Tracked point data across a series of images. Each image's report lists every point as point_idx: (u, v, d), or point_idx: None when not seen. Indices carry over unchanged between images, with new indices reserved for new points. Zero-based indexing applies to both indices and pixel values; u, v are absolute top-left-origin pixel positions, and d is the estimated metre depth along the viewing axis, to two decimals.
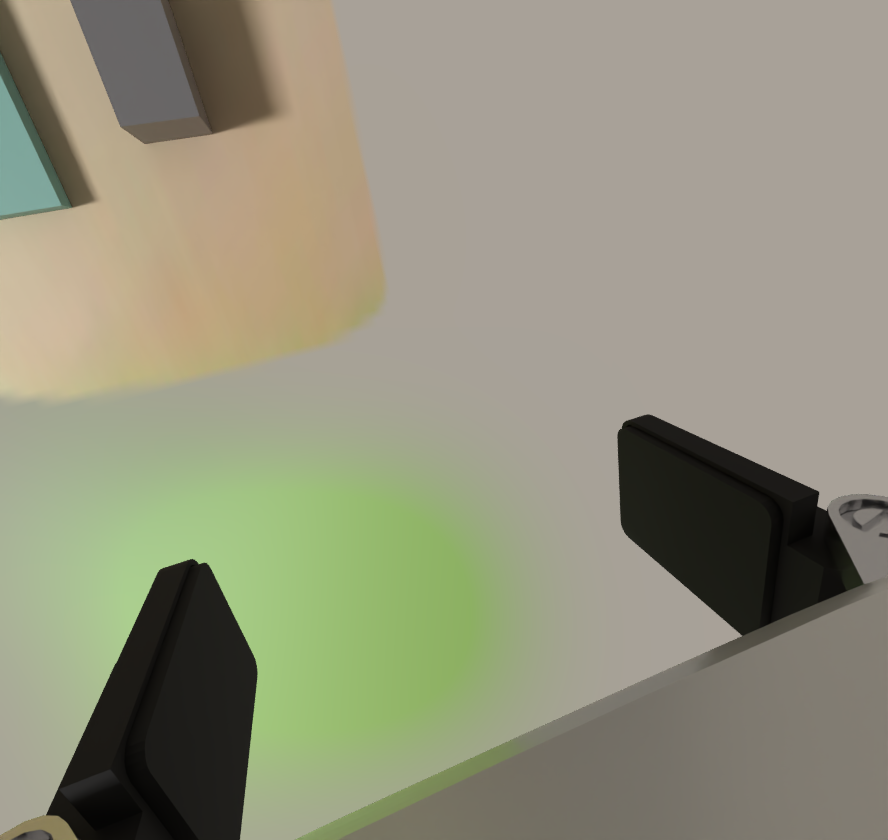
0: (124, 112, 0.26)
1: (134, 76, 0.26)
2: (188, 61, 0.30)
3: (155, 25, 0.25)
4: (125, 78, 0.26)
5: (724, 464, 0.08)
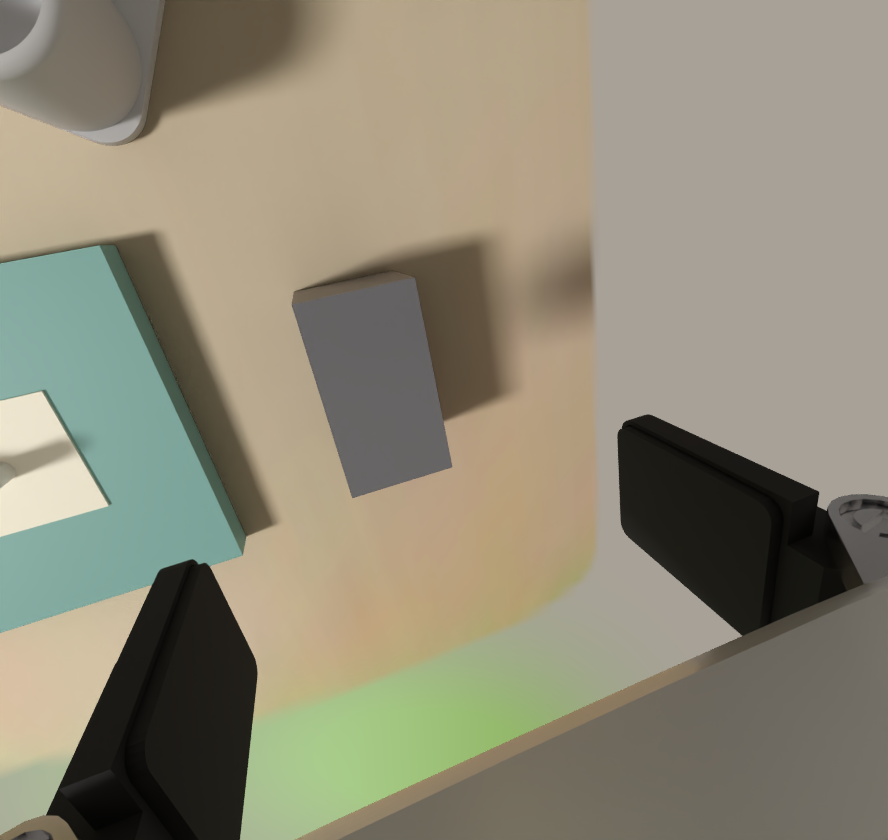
0: (360, 481, 0.19)
1: (379, 438, 0.18)
2: None
3: (416, 374, 0.18)
4: (367, 442, 0.18)
5: (724, 464, 0.08)
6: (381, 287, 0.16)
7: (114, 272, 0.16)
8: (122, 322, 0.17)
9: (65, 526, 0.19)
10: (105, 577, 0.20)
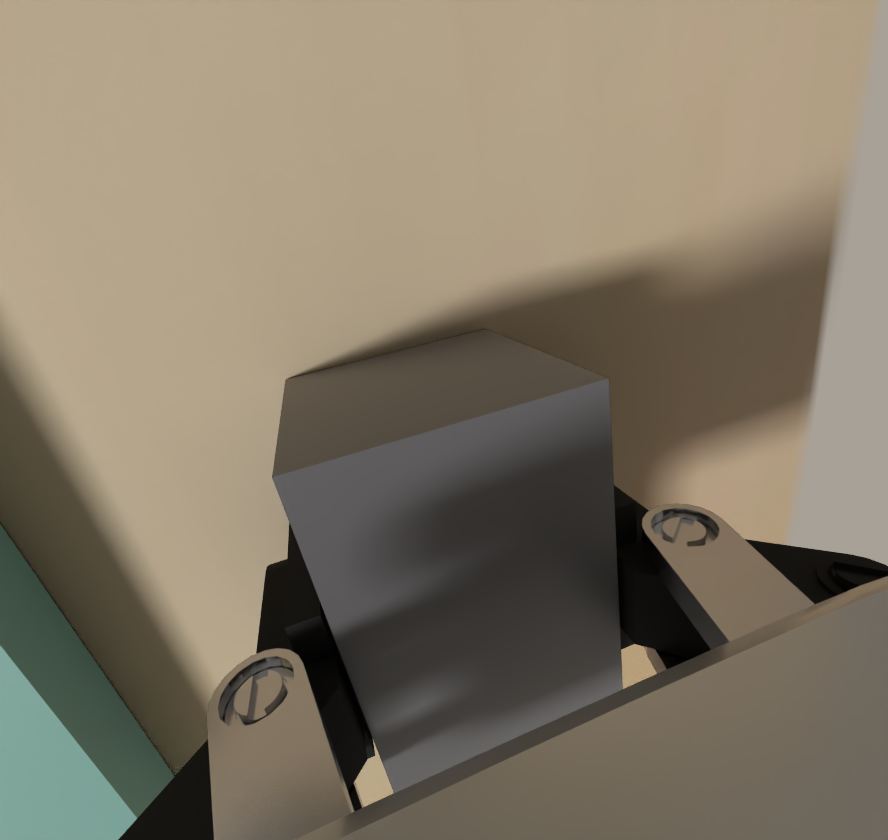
0: None
1: (484, 735, 0.08)
2: None
3: (580, 597, 0.07)
4: (458, 747, 0.08)
5: None
6: (523, 409, 0.06)
7: None
8: None
9: None
10: None
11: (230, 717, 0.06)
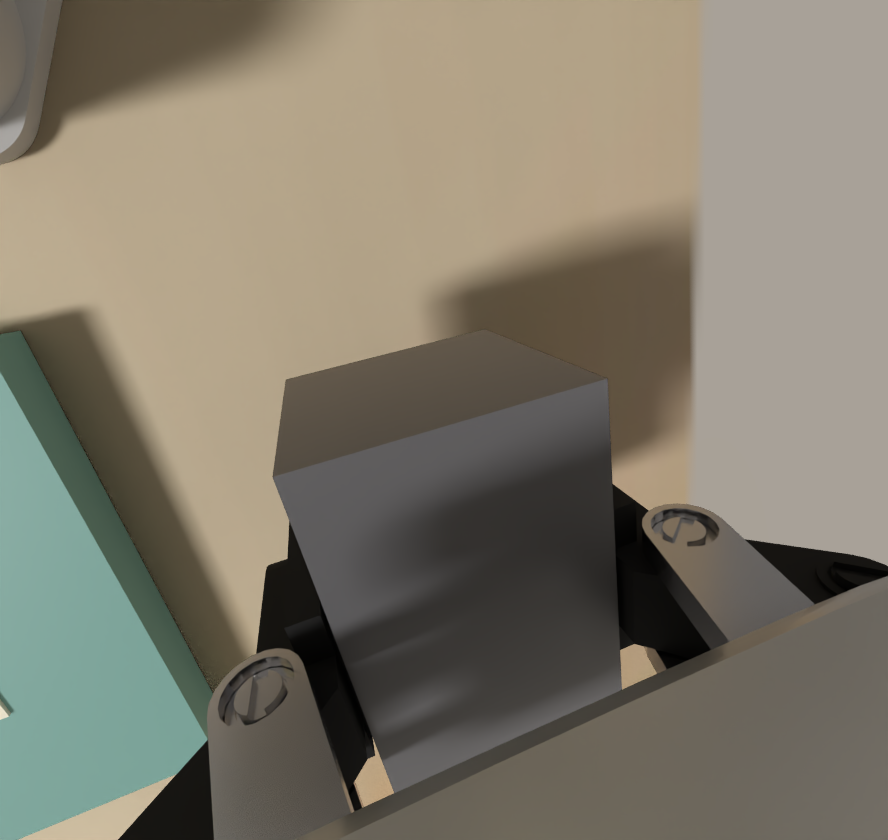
0: None
1: (483, 734, 0.08)
2: None
3: (579, 596, 0.07)
4: (458, 746, 0.08)
5: None
6: (522, 409, 0.06)
7: (10, 376, 0.10)
8: (24, 450, 0.11)
9: None
10: (8, 813, 0.13)
11: (230, 717, 0.06)
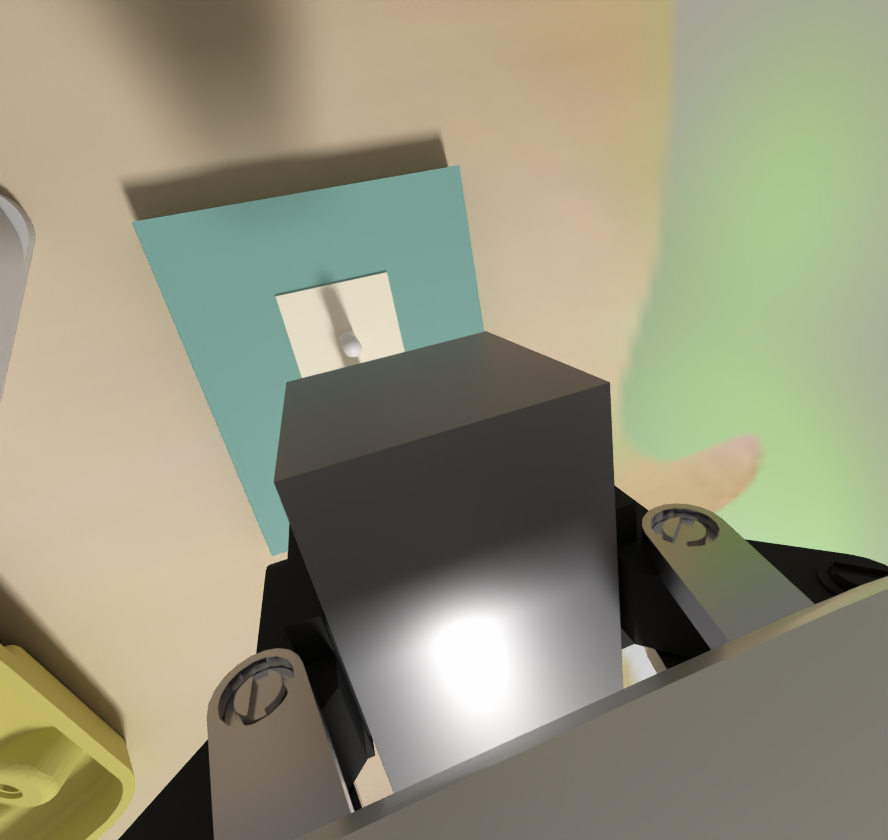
0: None
1: (485, 738, 0.08)
2: None
3: (581, 600, 0.07)
4: (458, 750, 0.08)
5: None
6: (524, 414, 0.06)
7: (158, 218, 0.18)
8: (204, 219, 0.19)
9: (402, 309, 0.22)
10: (457, 291, 0.23)
11: (230, 717, 0.06)
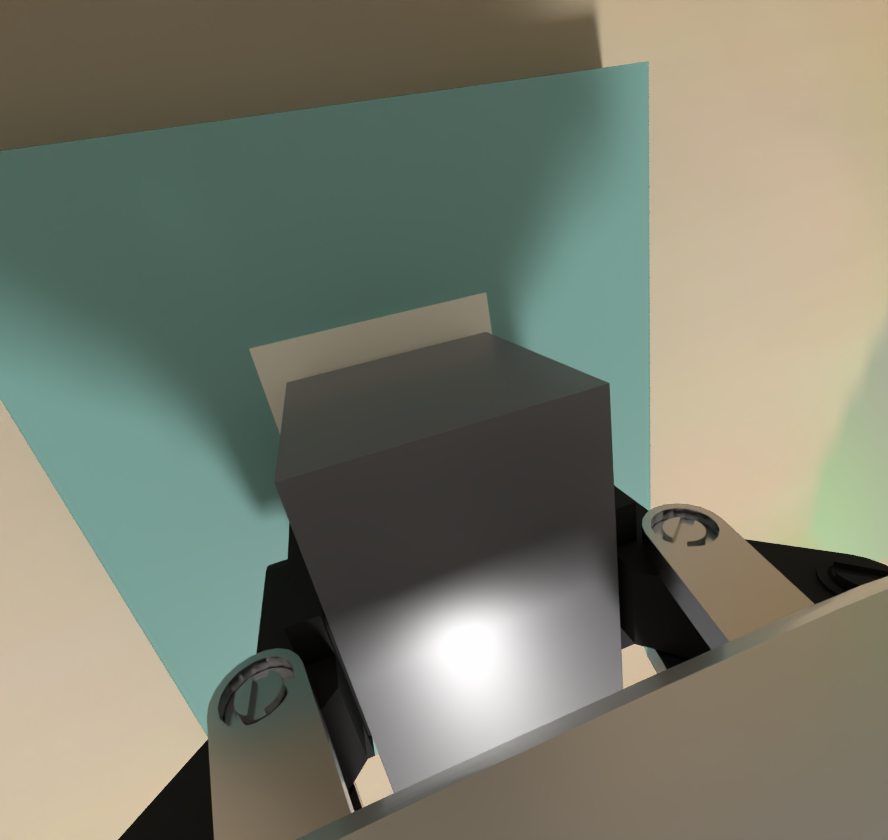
0: None
1: (485, 739, 0.08)
2: None
3: (581, 600, 0.07)
4: (459, 750, 0.08)
5: None
6: (524, 414, 0.06)
7: None
8: (66, 169, 0.07)
9: None
10: (613, 328, 0.12)
11: (230, 717, 0.06)
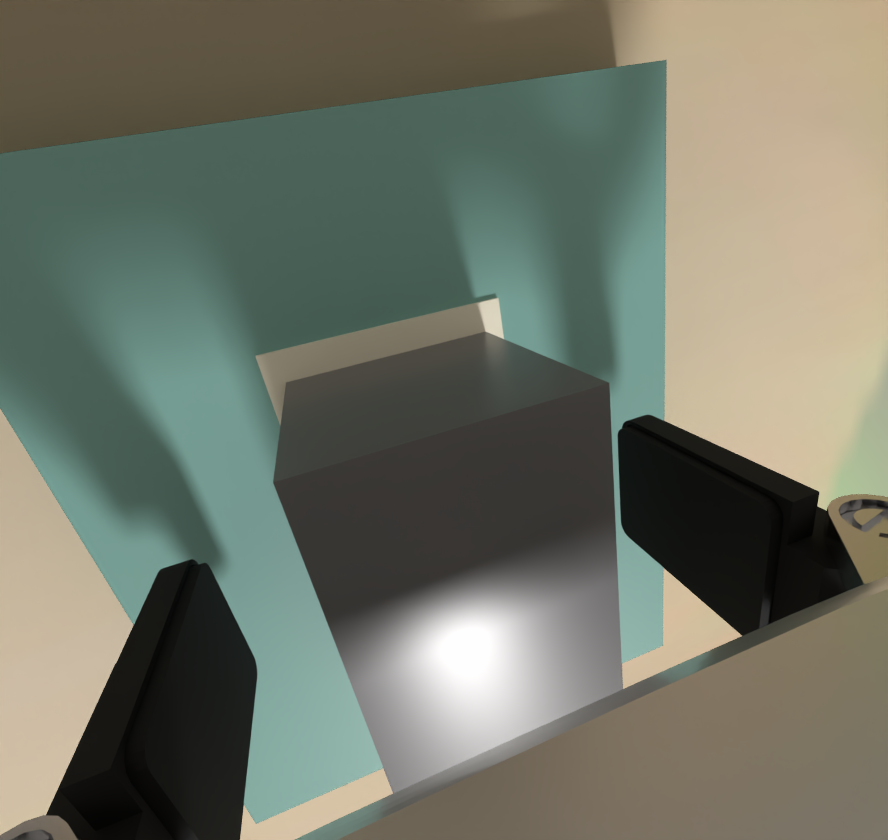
0: None
1: (484, 739, 0.08)
2: None
3: (581, 600, 0.07)
4: (458, 750, 0.08)
5: (724, 464, 0.08)
6: (524, 414, 0.06)
7: None
8: (68, 171, 0.07)
9: None
10: (628, 333, 0.11)
11: None
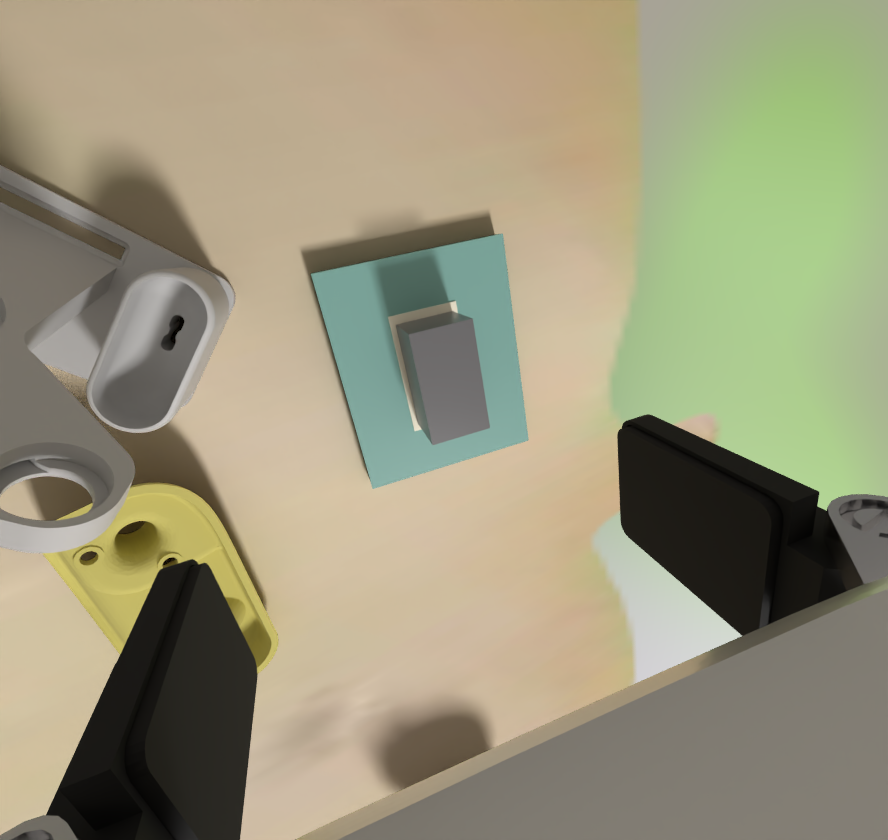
0: (437, 435, 0.32)
1: (449, 409, 0.31)
2: None
3: (471, 372, 0.31)
4: (443, 411, 0.31)
5: (724, 464, 0.08)
6: (455, 324, 0.29)
7: (324, 271, 0.31)
8: (351, 271, 0.31)
9: None
10: (499, 312, 0.35)
11: None
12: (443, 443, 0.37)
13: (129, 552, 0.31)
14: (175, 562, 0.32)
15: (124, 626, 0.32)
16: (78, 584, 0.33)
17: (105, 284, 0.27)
